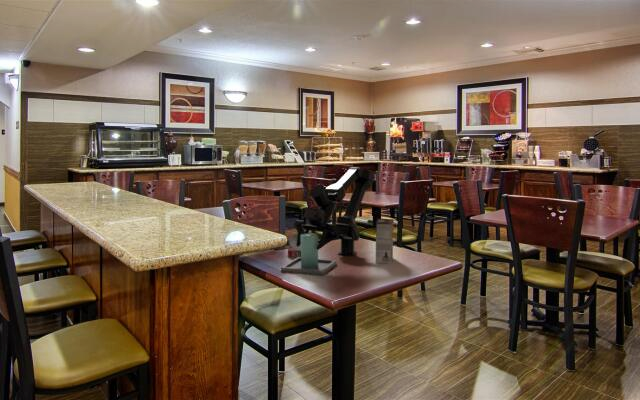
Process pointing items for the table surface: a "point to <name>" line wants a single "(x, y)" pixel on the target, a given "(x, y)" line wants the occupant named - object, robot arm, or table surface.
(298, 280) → the table surface
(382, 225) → the coffee box
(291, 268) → the tray
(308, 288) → the table surface
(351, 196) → the robot arm
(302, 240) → the green rounded cylinder
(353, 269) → the table surface
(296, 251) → the canned food
